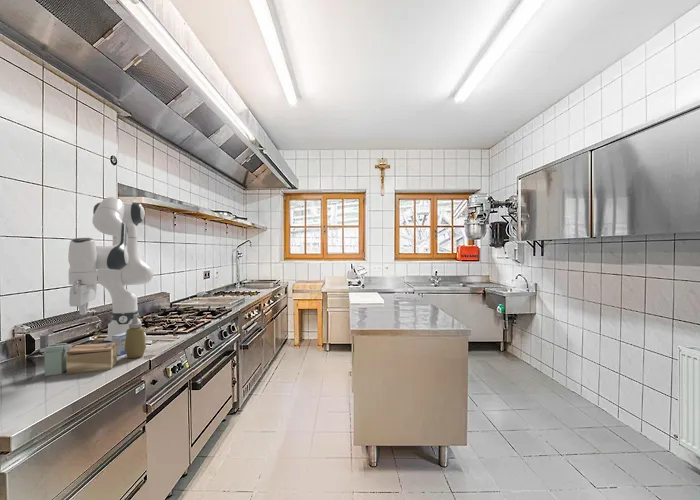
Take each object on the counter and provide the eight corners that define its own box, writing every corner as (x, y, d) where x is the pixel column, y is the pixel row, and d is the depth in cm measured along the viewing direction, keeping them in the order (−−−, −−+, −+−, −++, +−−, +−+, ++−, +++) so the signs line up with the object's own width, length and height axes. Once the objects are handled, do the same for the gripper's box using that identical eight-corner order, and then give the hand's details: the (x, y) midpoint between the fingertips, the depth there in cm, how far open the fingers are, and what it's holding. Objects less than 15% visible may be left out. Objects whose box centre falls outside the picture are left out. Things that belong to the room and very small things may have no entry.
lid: (75, 347, 140) (75, 344, 140) (116, 344, 145) (116, 341, 145) (66, 354, 130) (66, 350, 130) (110, 350, 136) (111, 347, 136)
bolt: (43, 350, 133) (42, 334, 133) (72, 347, 136) (72, 332, 136) (40, 352, 130) (39, 336, 130) (69, 349, 134) (69, 333, 134)
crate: (75, 366, 140) (75, 348, 140) (116, 361, 145) (116, 344, 145) (66, 374, 130) (66, 355, 130) (111, 369, 136) (111, 351, 136)
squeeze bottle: (123, 360, 147) (123, 317, 147) (125, 355, 154) (125, 314, 154) (145, 357, 150) (145, 316, 150) (146, 352, 158) (146, 313, 158)
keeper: (52, 369, 136) (51, 343, 136) (67, 368, 138) (67, 342, 137) (44, 375, 129) (44, 348, 129) (61, 373, 131) (61, 346, 131)
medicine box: (120, 355, 154) (120, 336, 154) (111, 355, 155) (111, 335, 155) (134, 350, 162) (134, 331, 161) (126, 350, 162) (126, 331, 162)
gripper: (84, 281, 128) (85, 318, 128) (99, 276, 147) (99, 309, 147) (63, 282, 126) (64, 320, 126) (81, 277, 145) (81, 310, 145)
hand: (83, 314), depth 137 cm, fingers closed
